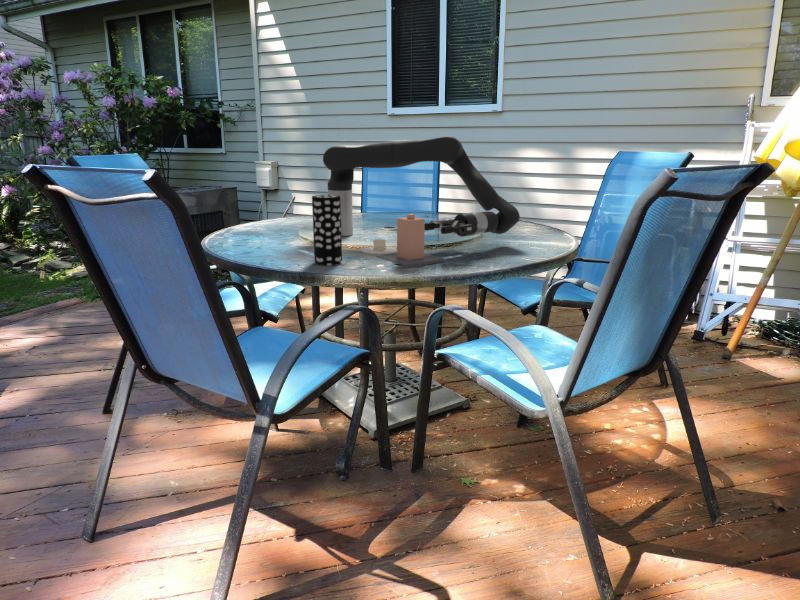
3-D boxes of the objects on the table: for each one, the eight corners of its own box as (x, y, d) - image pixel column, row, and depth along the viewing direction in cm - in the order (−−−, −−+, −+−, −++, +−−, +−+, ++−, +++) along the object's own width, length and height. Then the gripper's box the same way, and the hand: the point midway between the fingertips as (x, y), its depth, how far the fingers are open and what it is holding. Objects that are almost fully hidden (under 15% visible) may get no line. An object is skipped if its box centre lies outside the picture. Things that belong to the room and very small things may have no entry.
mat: (376, 259, 176) (376, 256, 175) (414, 253, 184) (414, 250, 184) (405, 268, 164) (405, 264, 164) (444, 261, 173) (444, 258, 172)
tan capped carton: (397, 256, 175) (397, 214, 171) (412, 254, 178) (412, 212, 174) (408, 260, 170) (409, 216, 166) (424, 257, 173) (424, 214, 170)
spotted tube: (315, 266, 166) (312, 198, 160) (314, 260, 174) (311, 195, 168) (343, 265, 168) (341, 197, 162) (340, 259, 176) (339, 194, 170)
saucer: (357, 255, 181) (357, 243, 180) (366, 248, 192) (366, 236, 191) (393, 256, 179) (393, 244, 178) (400, 249, 190) (400, 237, 189)
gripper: (456, 210, 190) (419, 214, 181) (486, 215, 179) (448, 219, 170) (455, 232, 192) (418, 237, 183) (485, 238, 181) (447, 244, 172)
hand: (432, 228), depth 177 cm, fingers open, 8 cm apart
